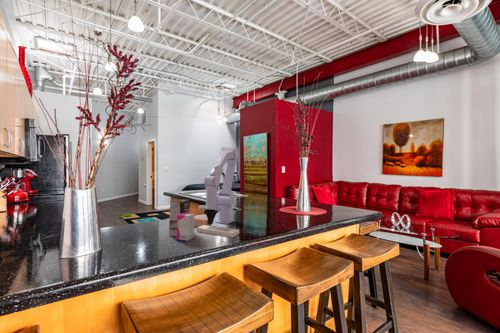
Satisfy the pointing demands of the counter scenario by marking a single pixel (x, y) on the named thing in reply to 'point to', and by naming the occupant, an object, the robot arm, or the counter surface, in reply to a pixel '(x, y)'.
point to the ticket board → (218, 230)
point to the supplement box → (185, 227)
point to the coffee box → (177, 213)
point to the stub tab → (200, 221)
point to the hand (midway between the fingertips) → (210, 224)
